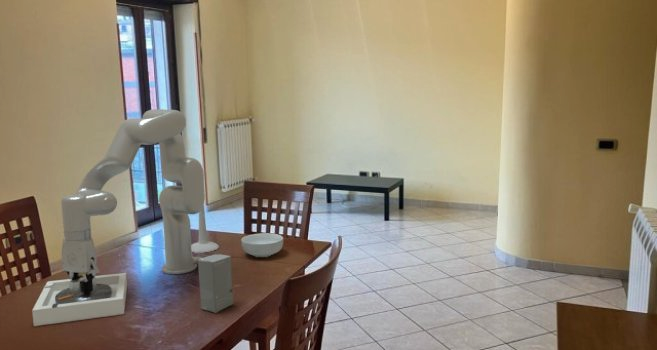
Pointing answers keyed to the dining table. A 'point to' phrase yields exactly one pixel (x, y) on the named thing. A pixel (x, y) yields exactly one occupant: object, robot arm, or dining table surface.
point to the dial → (77, 293)
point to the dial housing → (57, 313)
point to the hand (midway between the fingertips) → (82, 291)
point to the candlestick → (203, 237)
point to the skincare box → (215, 282)
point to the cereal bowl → (262, 244)
